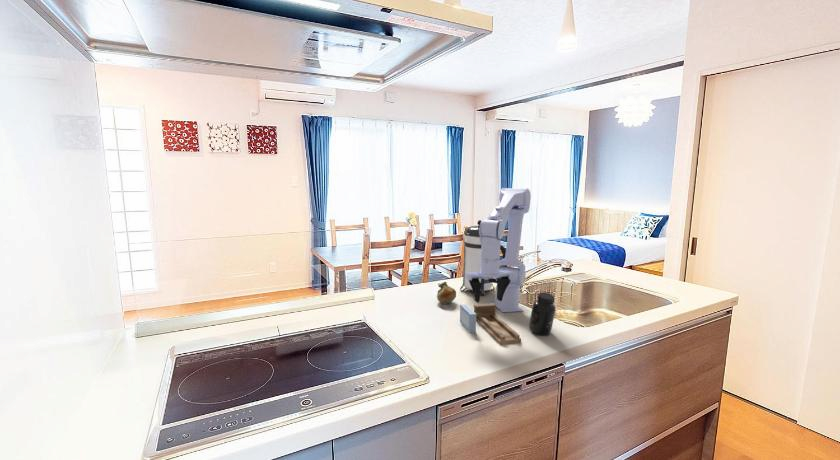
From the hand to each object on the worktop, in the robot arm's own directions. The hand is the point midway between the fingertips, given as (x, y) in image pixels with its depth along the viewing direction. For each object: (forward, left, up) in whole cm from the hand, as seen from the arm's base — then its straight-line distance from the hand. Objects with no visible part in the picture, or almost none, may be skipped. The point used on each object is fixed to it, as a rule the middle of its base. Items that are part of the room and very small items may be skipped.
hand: (488, 300), depth 120 cm
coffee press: (-38, +14, -10) cm, 42 cm away
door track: (0, +3, -10) cm, 10 cm away
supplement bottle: (+5, +16, -9) cm, 19 cm away
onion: (-27, -5, -10) cm, 29 cm away
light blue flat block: (-4, -5, -10) cm, 12 cm away
